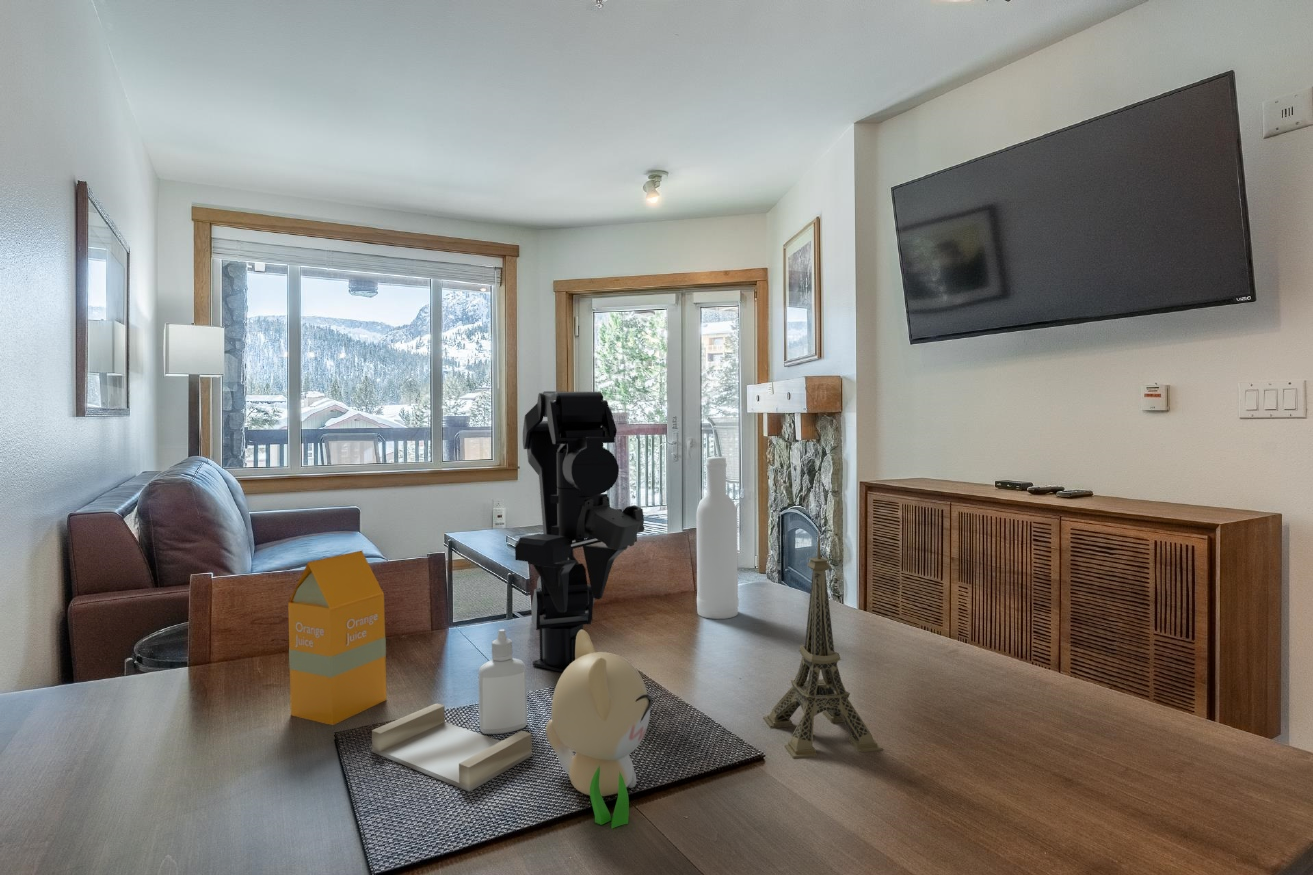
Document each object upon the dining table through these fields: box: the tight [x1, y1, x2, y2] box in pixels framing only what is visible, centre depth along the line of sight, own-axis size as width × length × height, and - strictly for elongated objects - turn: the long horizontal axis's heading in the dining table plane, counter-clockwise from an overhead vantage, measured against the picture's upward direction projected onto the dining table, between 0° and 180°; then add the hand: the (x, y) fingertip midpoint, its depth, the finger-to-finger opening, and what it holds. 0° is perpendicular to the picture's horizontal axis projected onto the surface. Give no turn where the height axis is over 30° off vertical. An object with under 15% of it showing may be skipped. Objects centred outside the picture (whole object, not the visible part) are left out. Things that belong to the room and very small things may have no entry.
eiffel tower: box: [762, 523, 884, 759], centre depth 84 cm, size 11×11×25 cm
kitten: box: [545, 629, 653, 829], centre depth 71 cm, size 15×10×15 cm, turn 17°
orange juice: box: [287, 549, 387, 726], centre depth 93 cm, size 8×9×20 cm
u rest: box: [371, 703, 533, 792], centre depth 80 cm, size 16×9×2 cm, turn 56°
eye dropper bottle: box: [478, 628, 528, 735], centre depth 86 cm, size 4×6×12 cm
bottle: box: [695, 456, 739, 620], centre depth 135 cm, size 8×8×30 cm
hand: (580, 604), depth 93 cm, fingers open, 7 cm apart
